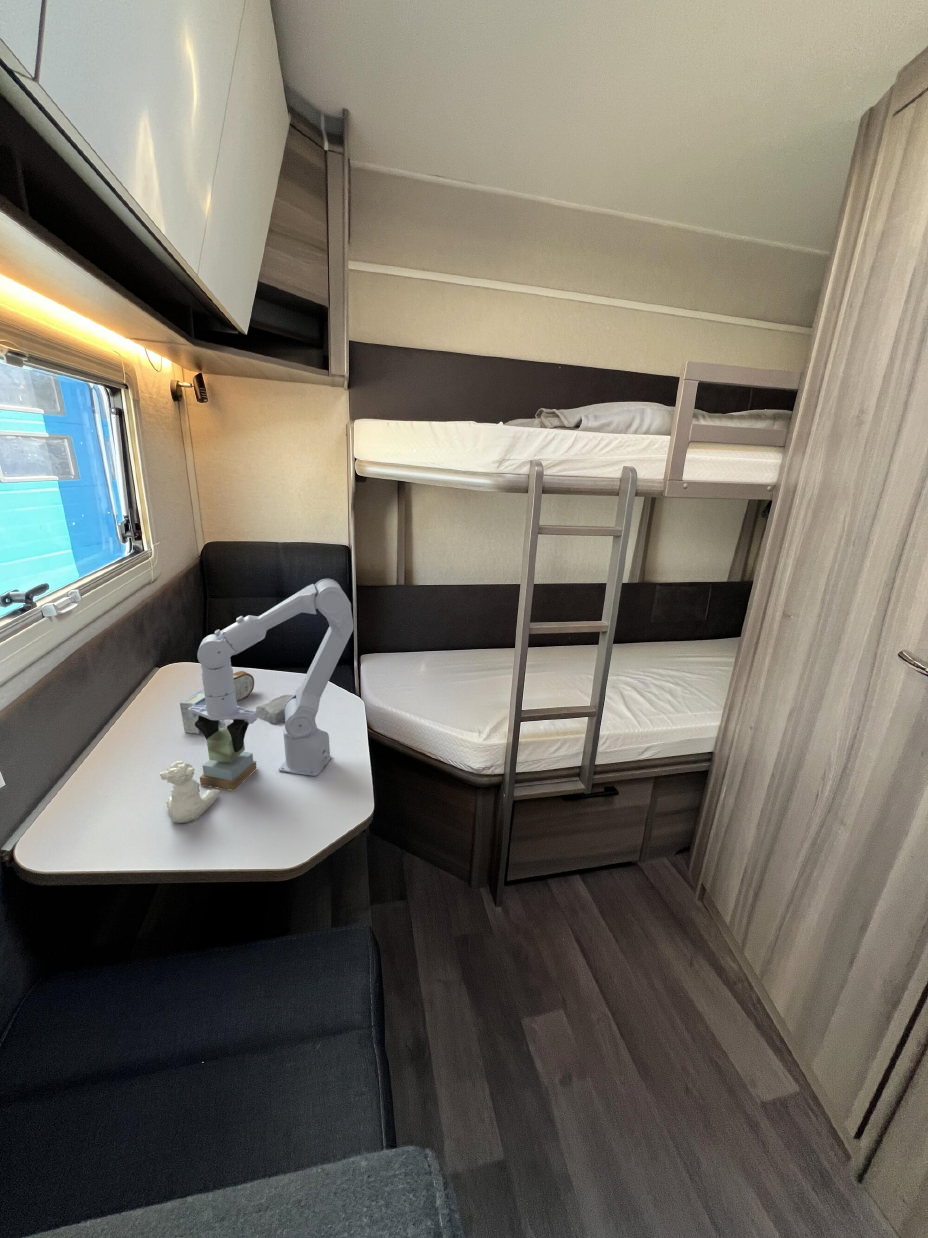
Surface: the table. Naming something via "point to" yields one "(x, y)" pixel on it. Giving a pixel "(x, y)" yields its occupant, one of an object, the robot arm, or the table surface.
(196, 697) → the medicine box
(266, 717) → the stone block
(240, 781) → the walnut slab
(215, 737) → the green cube
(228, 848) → the table surface
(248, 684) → the tin
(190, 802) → the seated beast figurine
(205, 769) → the slate blue slab
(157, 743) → the table surface
